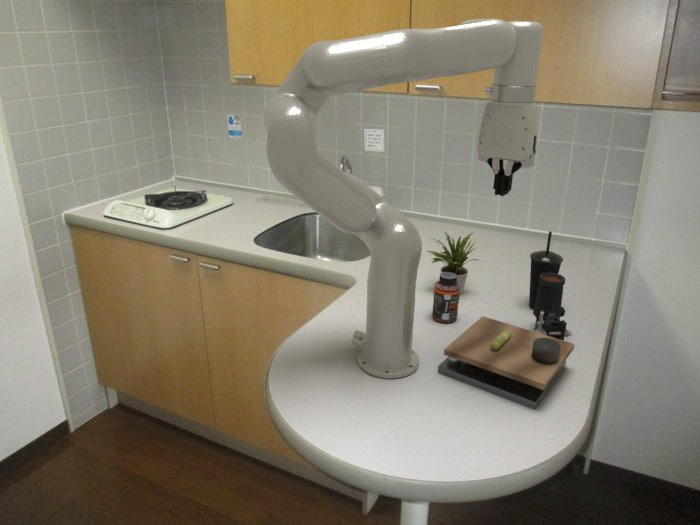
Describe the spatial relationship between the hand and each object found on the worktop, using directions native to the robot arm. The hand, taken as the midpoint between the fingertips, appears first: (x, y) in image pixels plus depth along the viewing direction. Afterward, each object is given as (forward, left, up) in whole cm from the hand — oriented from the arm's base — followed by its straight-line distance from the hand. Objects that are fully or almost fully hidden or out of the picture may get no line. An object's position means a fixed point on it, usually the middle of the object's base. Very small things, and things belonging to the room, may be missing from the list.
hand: (501, 193), depth 110 cm
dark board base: (+6, -4, -35) cm, 36 cm away
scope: (+8, +16, -35) cm, 40 cm away
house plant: (-20, +25, -35) cm, 48 cm away
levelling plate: (+7, -4, -31) cm, 32 cm away
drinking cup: (+2, +29, -35) cm, 46 cm away
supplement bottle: (-14, +9, -35) cm, 39 cm away
